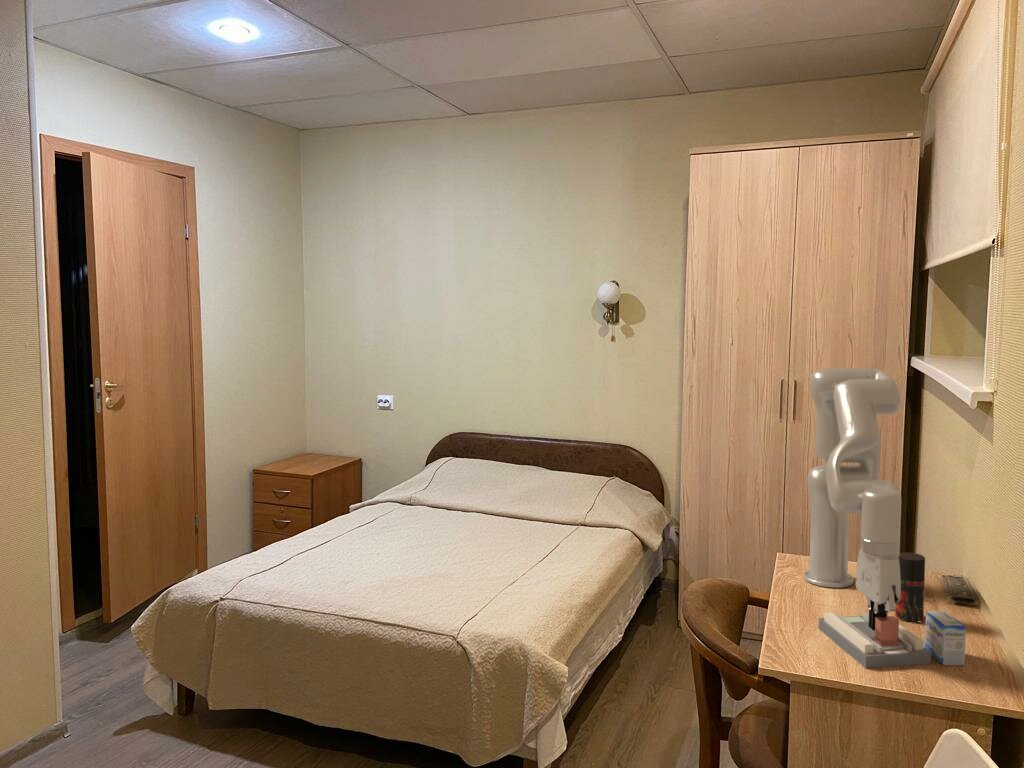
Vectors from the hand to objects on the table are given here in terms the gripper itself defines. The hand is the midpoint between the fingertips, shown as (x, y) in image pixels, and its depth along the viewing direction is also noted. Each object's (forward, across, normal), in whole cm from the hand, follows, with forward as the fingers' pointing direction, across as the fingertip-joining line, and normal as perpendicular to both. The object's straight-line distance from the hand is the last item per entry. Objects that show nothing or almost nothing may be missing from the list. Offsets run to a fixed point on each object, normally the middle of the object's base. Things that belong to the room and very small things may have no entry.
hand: (877, 628), depth 166 cm
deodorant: (+6, -15, +17) cm, 23 cm away
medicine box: (+5, +6, +12) cm, 14 cm away
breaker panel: (+5, -2, 0) cm, 5 cm away
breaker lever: (+2, +4, 0) cm, 4 cm away
